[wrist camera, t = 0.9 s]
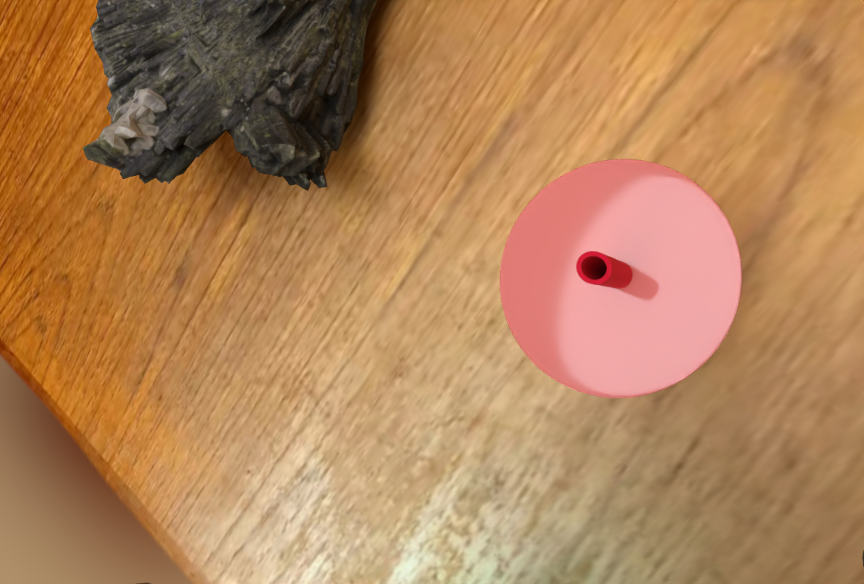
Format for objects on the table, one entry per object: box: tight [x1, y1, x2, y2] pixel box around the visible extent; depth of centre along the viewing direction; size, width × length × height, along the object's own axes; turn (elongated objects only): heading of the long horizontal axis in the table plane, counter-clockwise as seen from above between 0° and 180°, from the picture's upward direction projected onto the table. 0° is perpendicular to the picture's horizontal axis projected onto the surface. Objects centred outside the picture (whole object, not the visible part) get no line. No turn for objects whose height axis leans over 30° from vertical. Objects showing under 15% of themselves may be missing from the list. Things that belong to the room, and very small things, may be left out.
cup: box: [500, 159, 742, 398], centre depth 19 cm, size 5×5×12 cm
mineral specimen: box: [83, 0, 377, 191], centre depth 28 cm, size 15×13×10 cm
